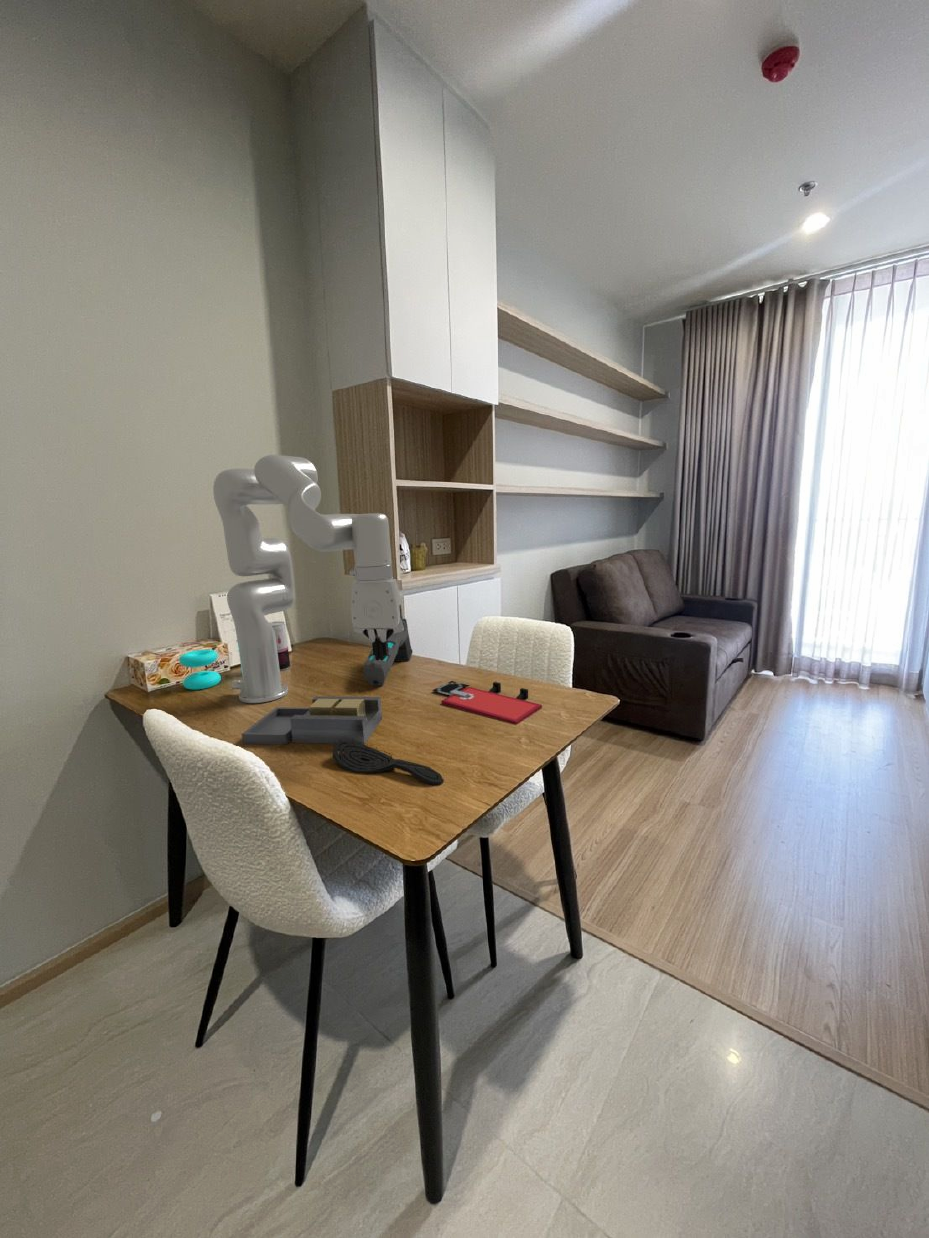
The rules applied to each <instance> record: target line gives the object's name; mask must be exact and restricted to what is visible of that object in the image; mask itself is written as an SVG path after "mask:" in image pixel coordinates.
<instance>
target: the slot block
mask: <svg viewBox="0 0 929 1238" xmlns="http://www.w3.org/2000/svg"><path fill="white" fill-rule="evenodd" d="M317 699H339V703H340V702H341V701H342V700H343V699H364V702H365V713H366V714H365V715H364V716H335V715H310V713H309V714H308V715H294V716H293V717H291V718H290V722H291V730H292V738H293V739H292V743H297V744H299V743H300V744H301V743H302V744H304V743H305V744H334V743H337V742H339V740H346V741H348V740H350V741H352V740H353V741H355V742H358V743H360V742H361V744H365V743H366V742H367V741H368V739H370V737H371V735H372V734H373V733H374V731H375V729H376V728H377V727H378V726H379V724H380V722H381V721H382V720H383V713H382V712H383V711H382V702H381V701H382V697H381V696H323V695H322V696H317V695H316V696H315V697H314V698H312V699H311V701H312V704H313V703H314V702H315V701H316V700H317ZM345 737H346V738H345ZM348 738H349V739H348ZM352 738H353V739H352ZM356 740H357V741H356ZM365 745H366V744H365Z"/></svg>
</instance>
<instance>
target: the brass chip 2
mask: <svg viewBox="0 0 929 1238" xmlns="http://www.w3.org/2000/svg"><path fill="white" fill-rule="evenodd" d="M335 714H336V716H364V715H365V714H366V713H365V702H364V699H343V700H342V701H341V702H340V703H339V704H338V705H337V706H336V707H335Z"/></svg>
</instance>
